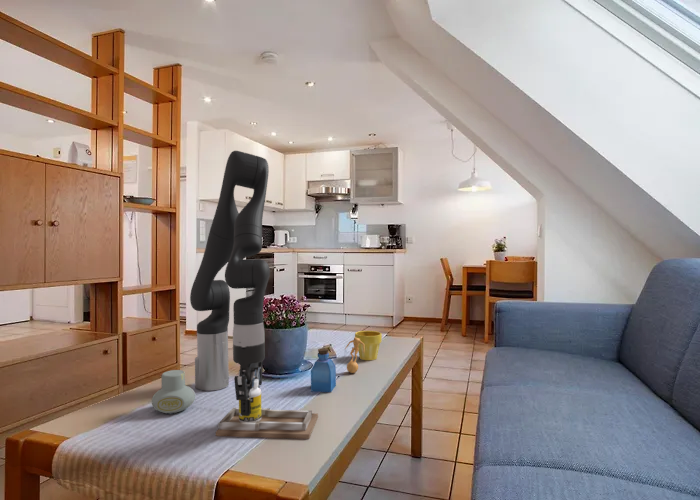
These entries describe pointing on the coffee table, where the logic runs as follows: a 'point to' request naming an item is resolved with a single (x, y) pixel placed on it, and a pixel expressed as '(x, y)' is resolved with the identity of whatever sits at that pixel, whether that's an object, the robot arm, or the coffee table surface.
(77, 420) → the coffee table surface
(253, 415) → the supplement bottle
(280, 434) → the brown rectangular tray
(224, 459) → the coffee table surface
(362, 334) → the plant pot
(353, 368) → the figurine
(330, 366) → the perfume bottle
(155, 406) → the air freshener
